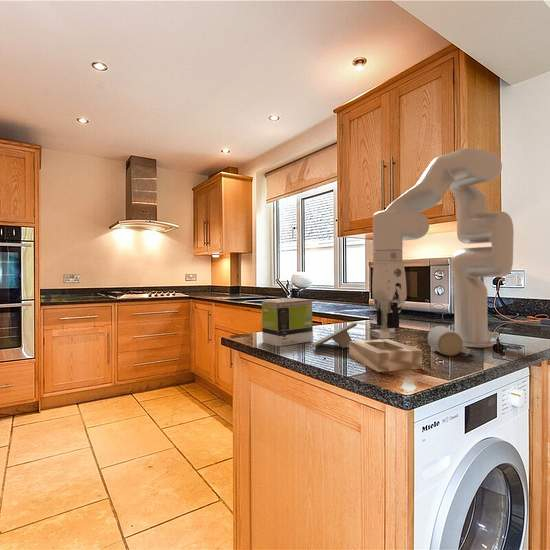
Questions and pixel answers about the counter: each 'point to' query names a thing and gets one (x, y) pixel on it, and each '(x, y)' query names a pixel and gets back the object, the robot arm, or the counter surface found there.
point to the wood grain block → (384, 324)
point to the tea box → (287, 321)
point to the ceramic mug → (446, 341)
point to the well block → (385, 355)
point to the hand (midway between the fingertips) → (387, 325)
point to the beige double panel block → (338, 336)
